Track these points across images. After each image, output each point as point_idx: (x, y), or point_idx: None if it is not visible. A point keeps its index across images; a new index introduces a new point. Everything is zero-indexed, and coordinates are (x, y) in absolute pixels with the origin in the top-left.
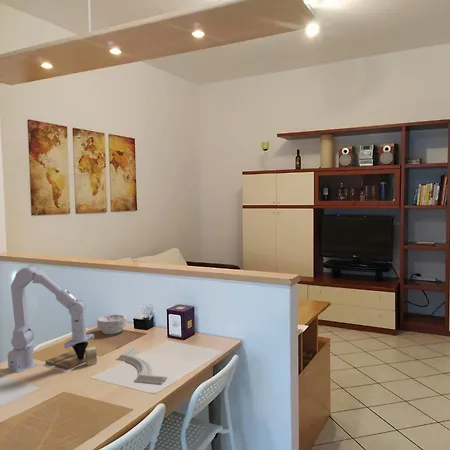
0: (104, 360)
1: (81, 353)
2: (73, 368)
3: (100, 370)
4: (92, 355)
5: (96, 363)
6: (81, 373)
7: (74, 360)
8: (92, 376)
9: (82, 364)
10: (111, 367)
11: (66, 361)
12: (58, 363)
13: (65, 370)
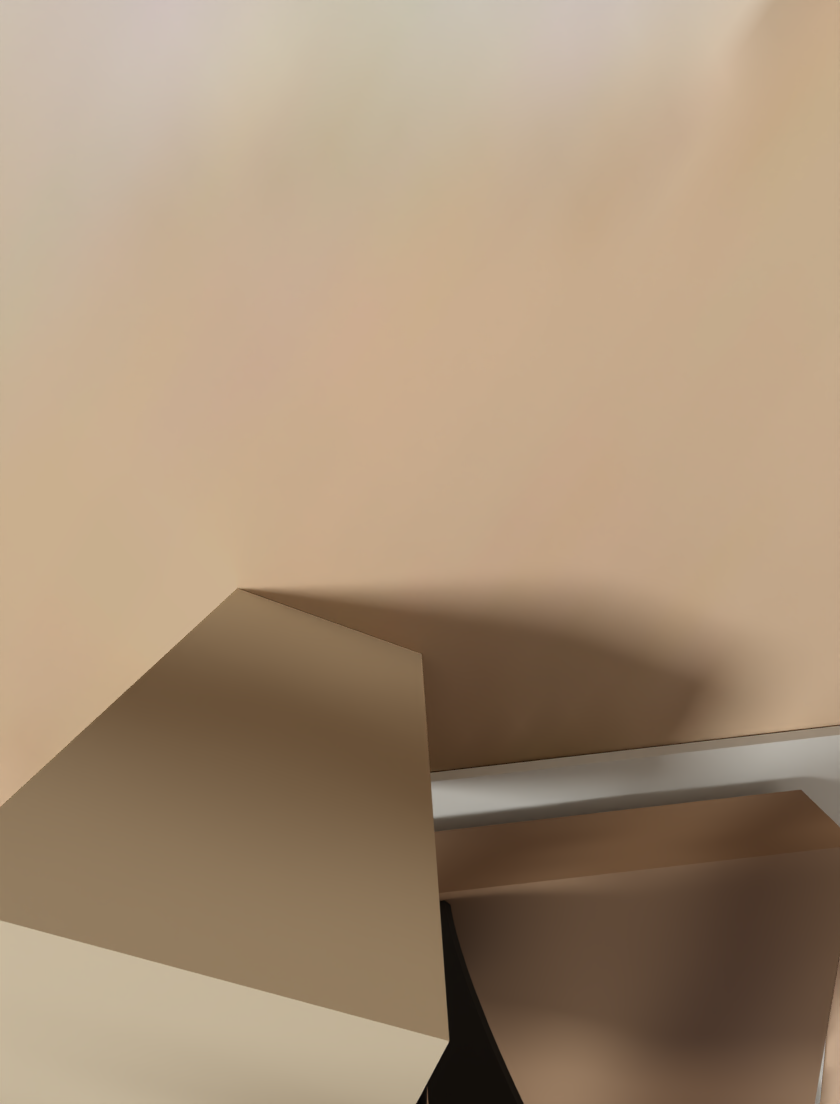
0: (9, 635)
1: (467, 1069)
2: (667, 755)
3: (390, 200)
4: (256, 741)
5: (238, 596)
6: (727, 437)
7: (549, 972)
8: (730, 37)
9: (444, 786)
10: (104, 112)
11: (658, 1045)
12: (793, 1072)
13: (802, 790)
